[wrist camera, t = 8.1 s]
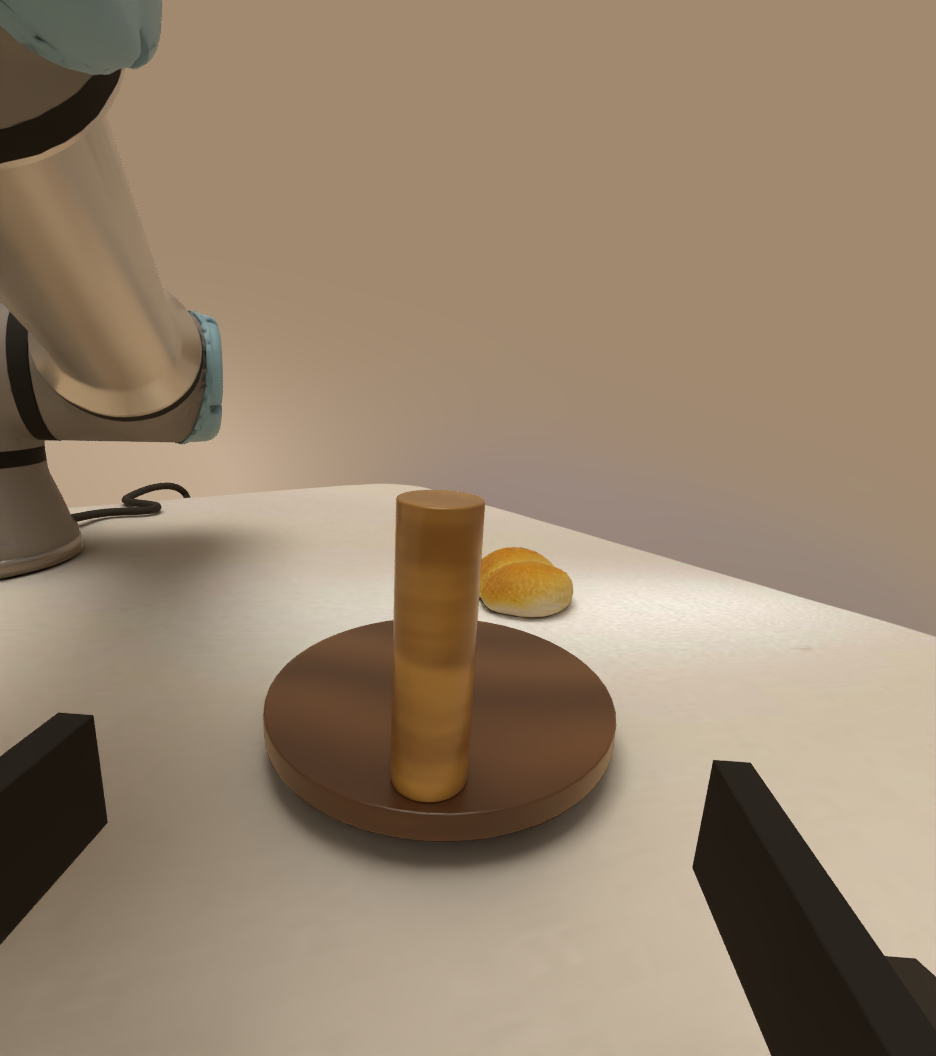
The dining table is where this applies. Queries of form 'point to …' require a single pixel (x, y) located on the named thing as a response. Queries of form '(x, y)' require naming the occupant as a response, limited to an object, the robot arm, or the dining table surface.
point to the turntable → (439, 703)
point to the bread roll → (523, 584)
